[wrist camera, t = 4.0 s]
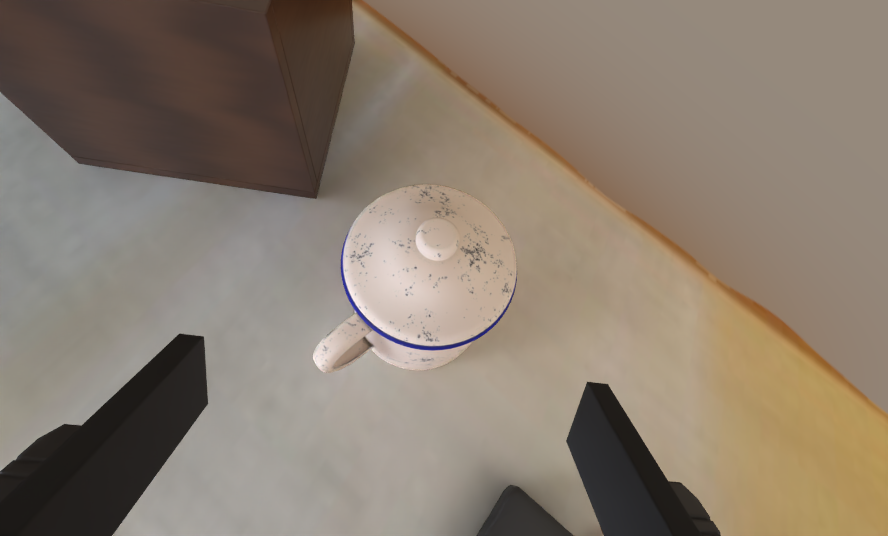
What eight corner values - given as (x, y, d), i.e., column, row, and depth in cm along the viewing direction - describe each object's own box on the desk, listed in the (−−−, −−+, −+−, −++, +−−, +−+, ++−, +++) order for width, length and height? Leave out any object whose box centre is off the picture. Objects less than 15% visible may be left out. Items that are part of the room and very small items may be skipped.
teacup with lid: (425, 228, 32) (448, 120, 21) (507, 318, 30) (577, 251, 19) (287, 325, 27) (228, 253, 17) (372, 436, 26) (366, 436, 15)
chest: (354, 42, 38) (339, -181, 24) (316, 199, 31) (266, 13, 18) (161, 7, 36) (29, -254, 23) (78, 163, 30) (-180, -71, 16)
